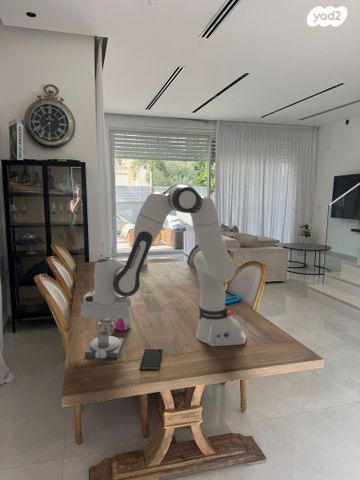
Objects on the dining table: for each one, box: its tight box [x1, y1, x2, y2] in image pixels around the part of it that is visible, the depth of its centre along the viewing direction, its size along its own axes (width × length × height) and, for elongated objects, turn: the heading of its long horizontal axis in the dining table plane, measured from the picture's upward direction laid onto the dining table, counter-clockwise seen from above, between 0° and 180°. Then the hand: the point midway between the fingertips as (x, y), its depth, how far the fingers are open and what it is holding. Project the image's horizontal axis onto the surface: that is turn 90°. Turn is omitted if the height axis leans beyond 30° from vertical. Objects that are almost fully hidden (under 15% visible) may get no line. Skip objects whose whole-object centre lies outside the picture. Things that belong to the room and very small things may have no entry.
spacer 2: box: [97, 331, 110, 348], centre depth 132 cm, size 4×4×5 cm
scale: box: [84, 335, 125, 359], centre depth 135 cm, size 13×14×4 cm
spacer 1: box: [100, 318, 113, 334], centre depth 137 cm, size 4×4×5 cm
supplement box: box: [113, 316, 132, 333], centre depth 154 cm, size 6×6×12 cm
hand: (106, 327), depth 137 cm, fingers closed on spacer 1, 4 cm apart
